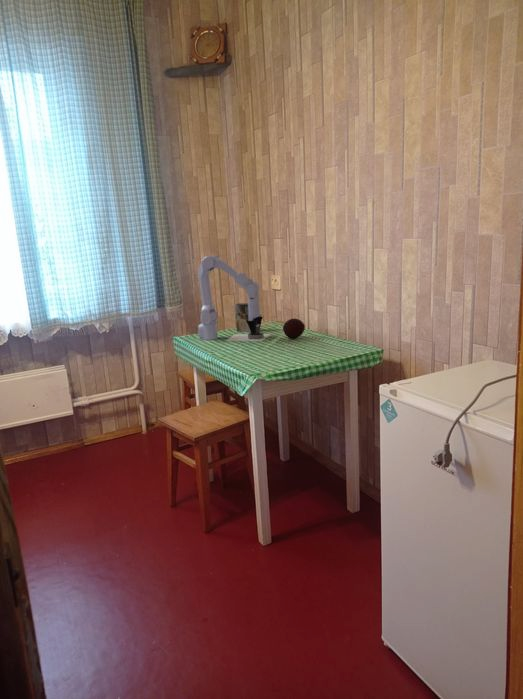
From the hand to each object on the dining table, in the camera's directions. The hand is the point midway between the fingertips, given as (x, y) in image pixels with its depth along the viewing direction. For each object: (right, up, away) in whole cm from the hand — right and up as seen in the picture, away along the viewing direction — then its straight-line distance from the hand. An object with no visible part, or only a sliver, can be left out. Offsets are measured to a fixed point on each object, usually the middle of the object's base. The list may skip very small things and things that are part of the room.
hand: (255, 332), depth 264 cm
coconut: (+20, -3, -2) cm, 20 cm away
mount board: (-4, -4, +3) cm, 6 cm away
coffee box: (-5, 0, +22) cm, 23 cm away
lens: (0, -3, +1) cm, 3 cm away
